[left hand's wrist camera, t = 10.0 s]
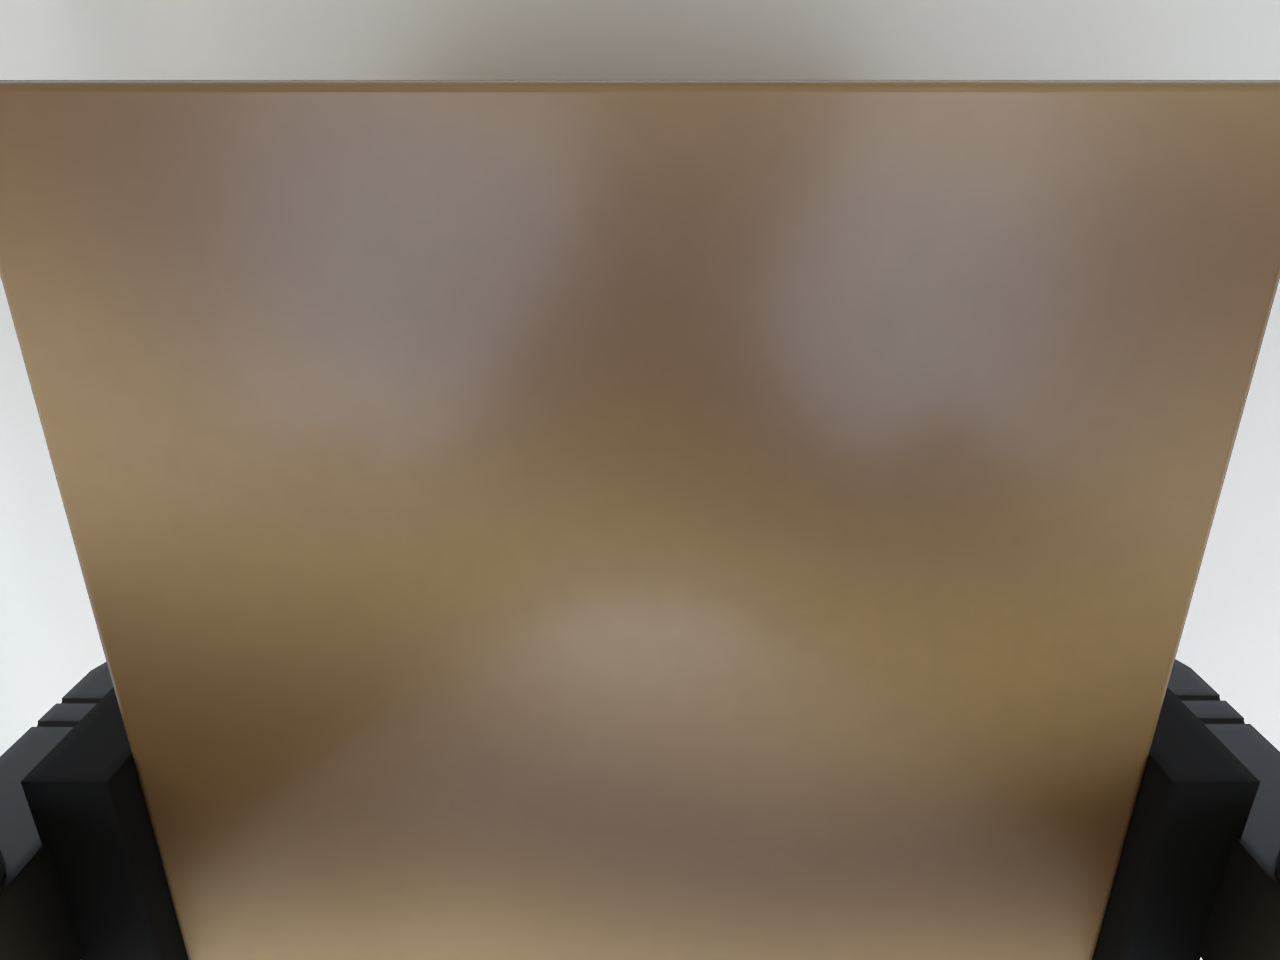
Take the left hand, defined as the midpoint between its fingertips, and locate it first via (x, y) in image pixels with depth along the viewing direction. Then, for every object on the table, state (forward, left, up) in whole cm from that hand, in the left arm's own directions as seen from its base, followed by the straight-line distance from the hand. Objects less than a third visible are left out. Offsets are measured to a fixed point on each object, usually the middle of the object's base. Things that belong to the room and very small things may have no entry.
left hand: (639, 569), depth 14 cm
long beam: (+30, -13, -1) cm, 33 cm away
